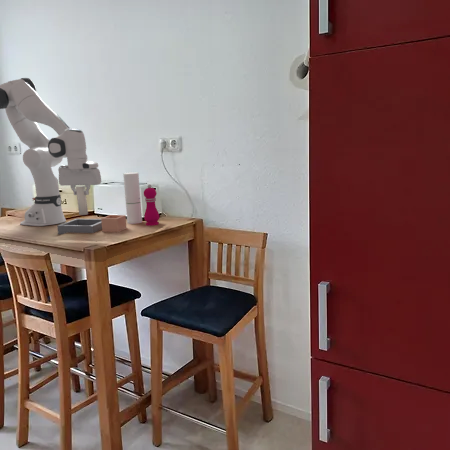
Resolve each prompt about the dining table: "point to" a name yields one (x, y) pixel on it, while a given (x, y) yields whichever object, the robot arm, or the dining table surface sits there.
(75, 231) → the tray
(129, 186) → the cylindrical container
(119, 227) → the pink block with hole
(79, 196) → the dowel
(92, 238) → the dining table surface
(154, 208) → the pepper mill
